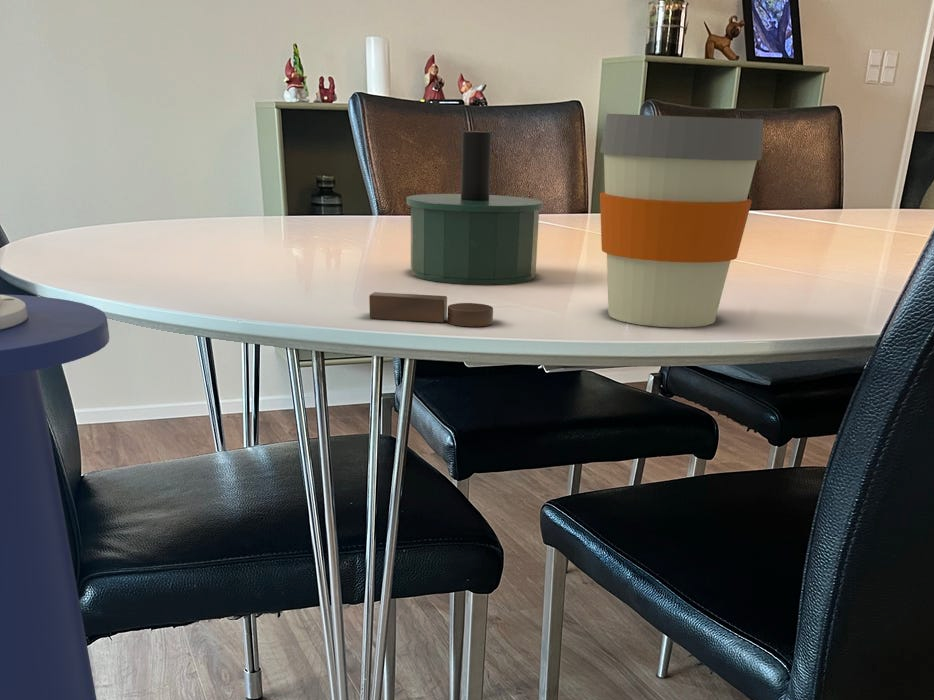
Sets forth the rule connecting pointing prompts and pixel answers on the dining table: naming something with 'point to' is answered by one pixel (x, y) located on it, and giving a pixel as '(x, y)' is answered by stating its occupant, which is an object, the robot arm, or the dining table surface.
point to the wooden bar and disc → (428, 309)
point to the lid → (475, 184)
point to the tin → (473, 246)
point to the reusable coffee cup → (674, 213)
